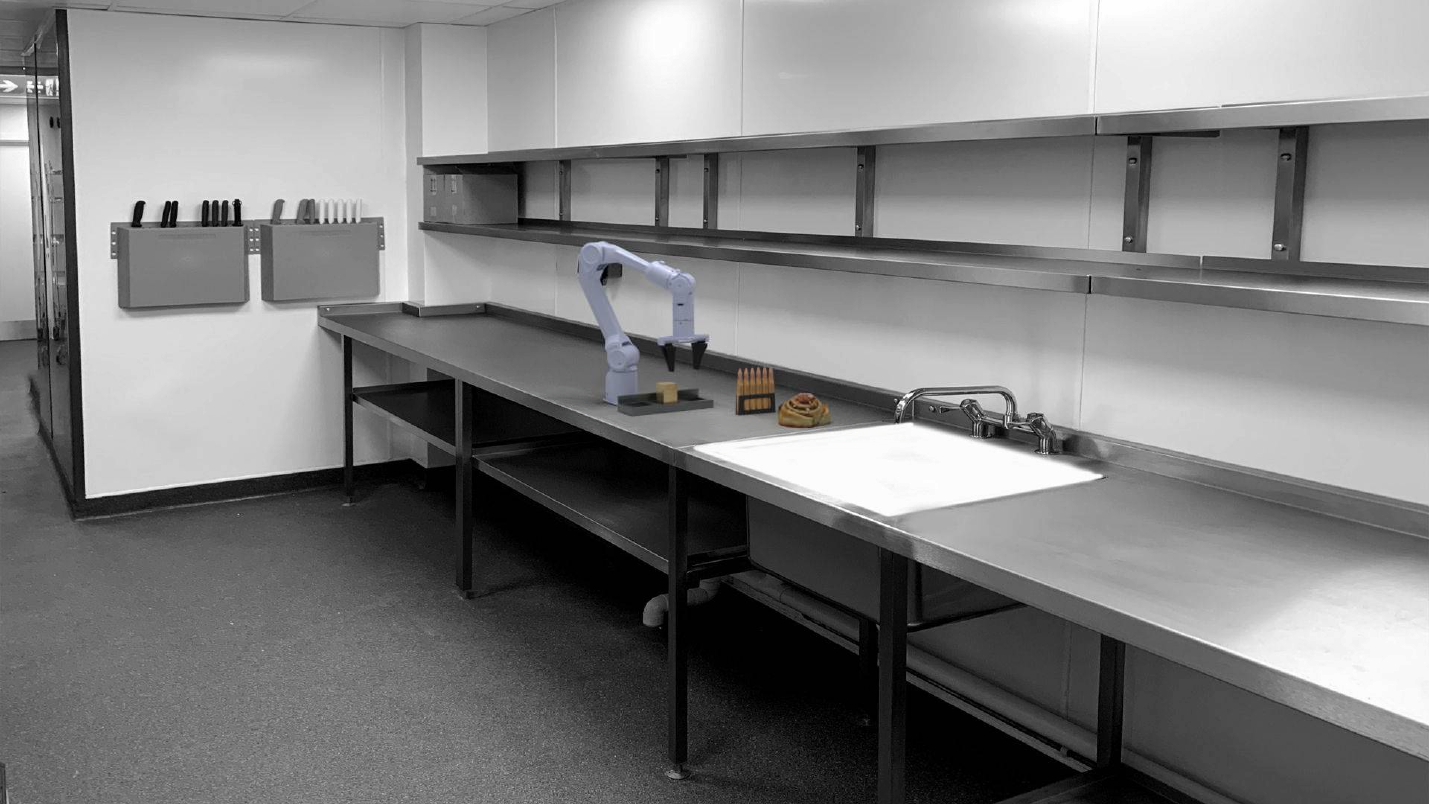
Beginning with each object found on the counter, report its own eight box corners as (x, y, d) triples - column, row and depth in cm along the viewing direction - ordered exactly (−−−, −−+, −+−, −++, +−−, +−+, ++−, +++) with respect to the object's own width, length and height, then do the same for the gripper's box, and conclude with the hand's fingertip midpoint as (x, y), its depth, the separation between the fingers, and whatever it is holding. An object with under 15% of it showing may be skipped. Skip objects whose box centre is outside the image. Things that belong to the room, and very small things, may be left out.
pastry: (782, 429, 290) (782, 396, 289) (772, 418, 305) (772, 386, 303) (836, 428, 291) (836, 395, 290) (824, 416, 306) (824, 385, 305)
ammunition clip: (738, 415, 307) (738, 369, 305) (735, 414, 309) (735, 368, 307) (775, 412, 312) (775, 366, 309) (772, 411, 313) (772, 365, 311)
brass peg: (656, 409, 317) (656, 382, 316) (670, 407, 319) (669, 381, 318) (663, 411, 313) (663, 384, 312) (677, 410, 315) (677, 383, 314)
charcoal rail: (617, 410, 314) (617, 395, 314) (697, 402, 326) (697, 387, 325) (632, 416, 307) (632, 400, 306) (713, 407, 319) (713, 392, 318)
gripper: (666, 322, 311) (667, 374, 314) (714, 319, 319) (714, 370, 321) (653, 320, 317) (654, 371, 320) (701, 317, 325) (701, 366, 327)
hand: (683, 370), depth 321 cm, fingers open, 7 cm apart
